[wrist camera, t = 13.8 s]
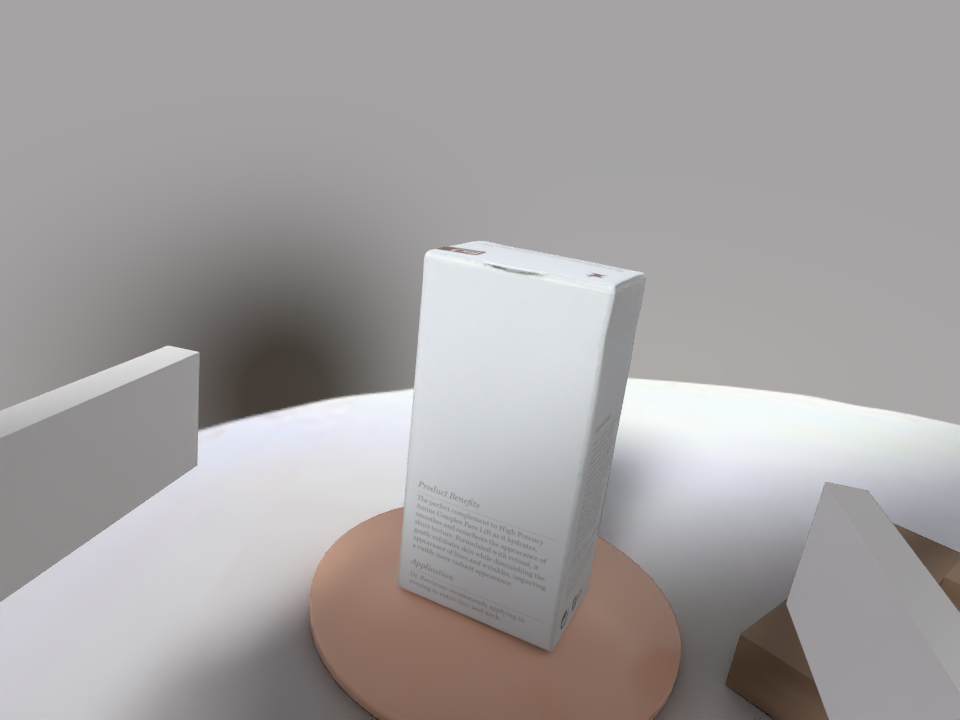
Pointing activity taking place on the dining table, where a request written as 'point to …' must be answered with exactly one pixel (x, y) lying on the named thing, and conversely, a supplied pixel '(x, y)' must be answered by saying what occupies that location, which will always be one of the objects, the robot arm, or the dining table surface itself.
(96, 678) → the dining table surface
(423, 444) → the skincare box
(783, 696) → the socket block
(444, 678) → the coaster
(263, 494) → the dining table surface
